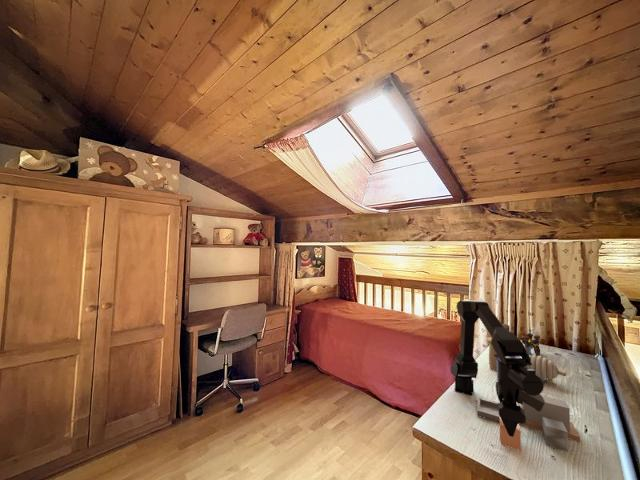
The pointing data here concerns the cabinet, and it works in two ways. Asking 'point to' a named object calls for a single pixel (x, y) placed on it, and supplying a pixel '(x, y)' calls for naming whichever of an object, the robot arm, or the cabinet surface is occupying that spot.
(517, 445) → the terracotta block
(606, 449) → the cabinet surface
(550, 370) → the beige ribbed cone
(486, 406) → the tray
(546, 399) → the mounted unit
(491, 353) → the handle
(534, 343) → the doll family
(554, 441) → the grey block
